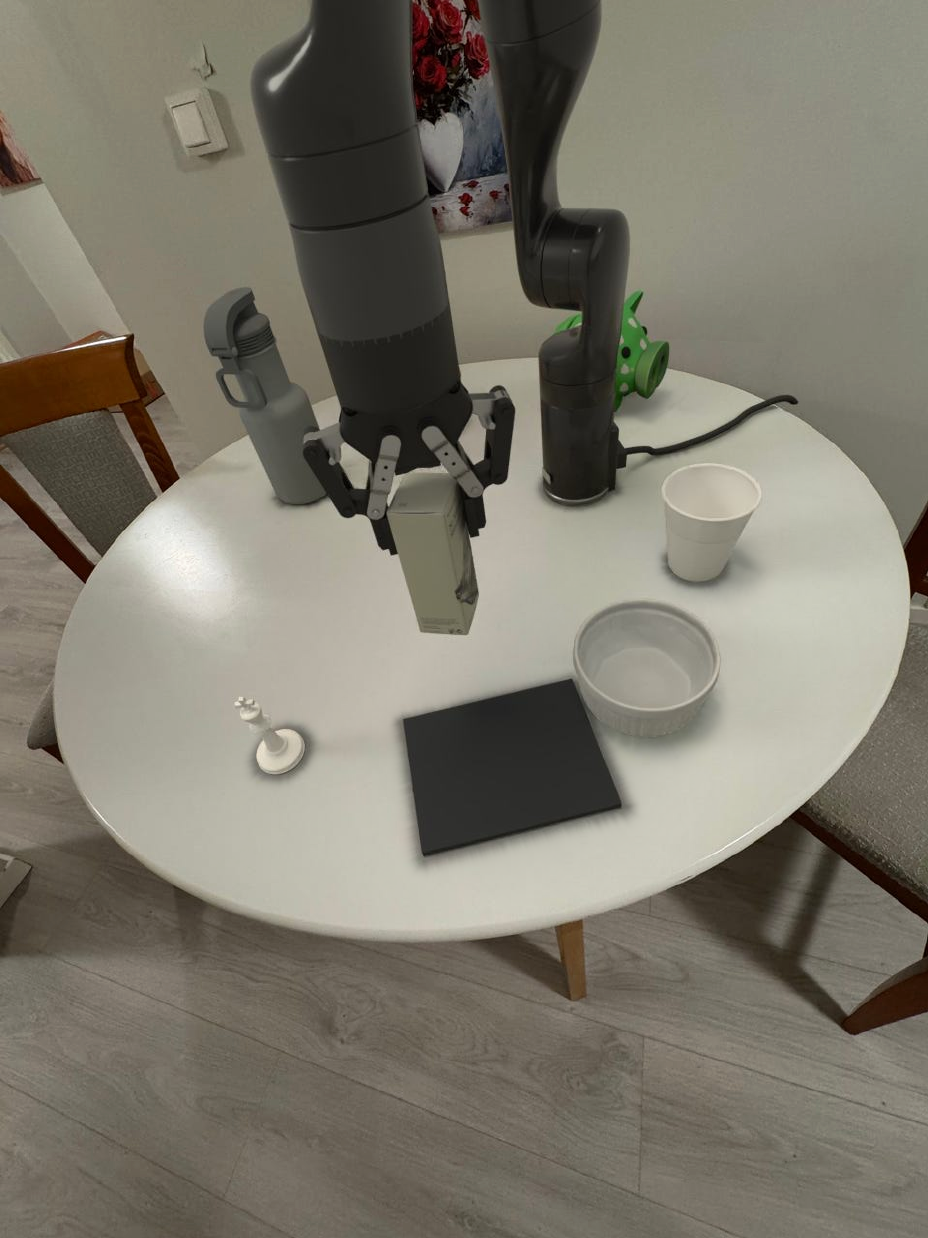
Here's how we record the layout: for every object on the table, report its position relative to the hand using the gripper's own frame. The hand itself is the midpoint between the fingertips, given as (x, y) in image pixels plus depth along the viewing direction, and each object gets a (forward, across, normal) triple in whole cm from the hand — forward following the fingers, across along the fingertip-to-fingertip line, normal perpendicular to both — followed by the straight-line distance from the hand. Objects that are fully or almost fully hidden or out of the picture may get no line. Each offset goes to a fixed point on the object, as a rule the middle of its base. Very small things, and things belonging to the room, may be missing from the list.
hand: (433, 538), depth 44 cm
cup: (+23, +30, +12) cm, 39 cm away
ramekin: (+23, +17, -3) cm, 29 cm away
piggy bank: (+23, +32, +53) cm, 66 cm away
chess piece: (+23, -20, -1) cm, 31 cm away
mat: (+23, +2, -8) cm, 24 cm away
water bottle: (+23, -18, +46) cm, 55 cm away
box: (+9, 0, 0) cm, 9 cm away
